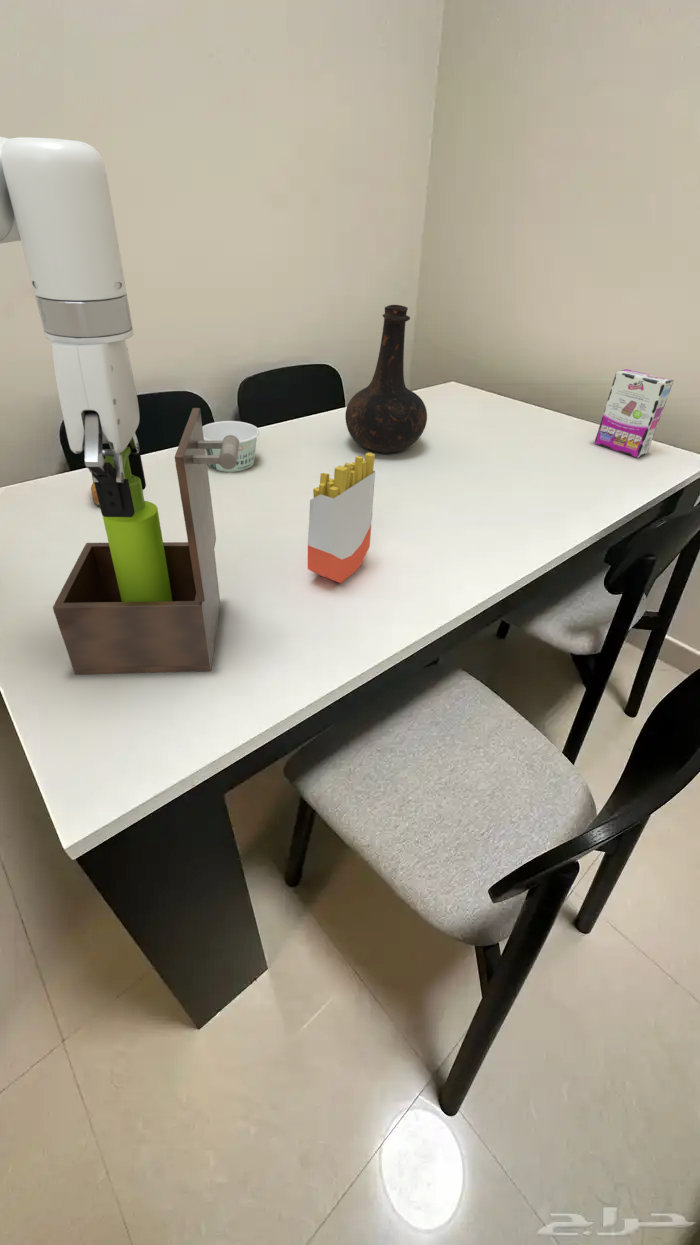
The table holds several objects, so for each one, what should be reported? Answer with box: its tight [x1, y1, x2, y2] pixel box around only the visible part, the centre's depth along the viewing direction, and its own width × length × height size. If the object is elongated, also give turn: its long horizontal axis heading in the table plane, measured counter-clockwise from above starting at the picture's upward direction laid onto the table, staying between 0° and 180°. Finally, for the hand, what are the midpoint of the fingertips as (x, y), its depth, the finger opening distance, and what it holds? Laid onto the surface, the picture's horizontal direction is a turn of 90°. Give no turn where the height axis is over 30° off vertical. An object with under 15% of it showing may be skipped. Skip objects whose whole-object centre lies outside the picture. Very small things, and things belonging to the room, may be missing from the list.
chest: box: [52, 541, 221, 675], centre depth 72 cm, size 16×14×10 cm
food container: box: [202, 420, 260, 473], centre depth 117 cm, size 12×12×6 cm
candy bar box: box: [594, 368, 675, 459], centre depth 131 cm, size 11×5×16 cm, turn 42°
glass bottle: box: [345, 304, 428, 454], centre depth 122 cm, size 18×18×28 cm
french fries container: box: [307, 451, 376, 584], centre depth 83 cm, size 5×11×18 cm, turn 148°
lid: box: [174, 407, 239, 602], centre depth 64 cm, size 17×14×5 cm
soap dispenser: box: [102, 447, 173, 602], centre depth 66 cm, size 6×7×20 cm
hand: (125, 500), depth 63 cm, fingers closed on soap dispenser, 5 cm apart
